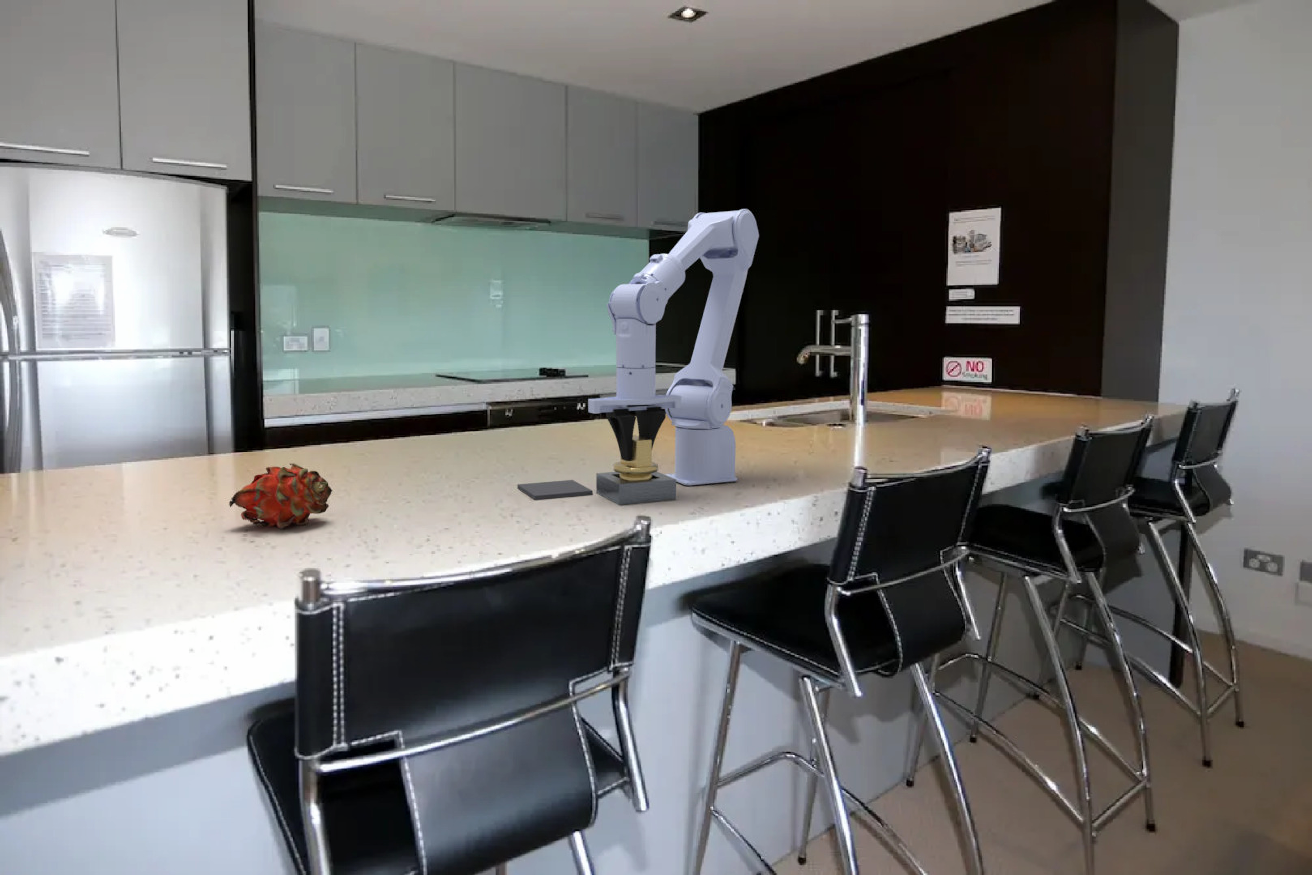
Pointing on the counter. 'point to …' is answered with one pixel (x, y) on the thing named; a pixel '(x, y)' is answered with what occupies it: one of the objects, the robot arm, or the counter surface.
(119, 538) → the counter surface
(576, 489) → the mat
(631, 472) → the end cover
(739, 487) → the counter surface
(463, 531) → the counter surface
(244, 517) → the dragon fruit
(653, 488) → the housing
